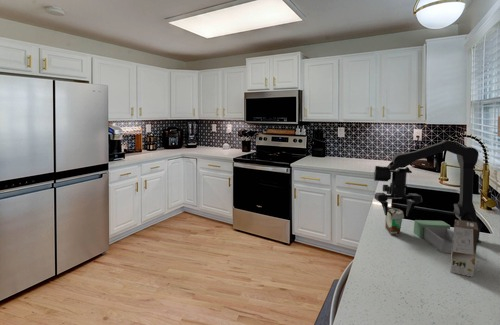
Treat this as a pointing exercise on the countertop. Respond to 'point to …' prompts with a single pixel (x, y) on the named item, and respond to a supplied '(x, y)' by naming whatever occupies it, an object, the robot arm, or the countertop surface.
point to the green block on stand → (435, 234)
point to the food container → (394, 221)
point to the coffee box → (464, 247)
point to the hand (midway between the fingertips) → (396, 215)
